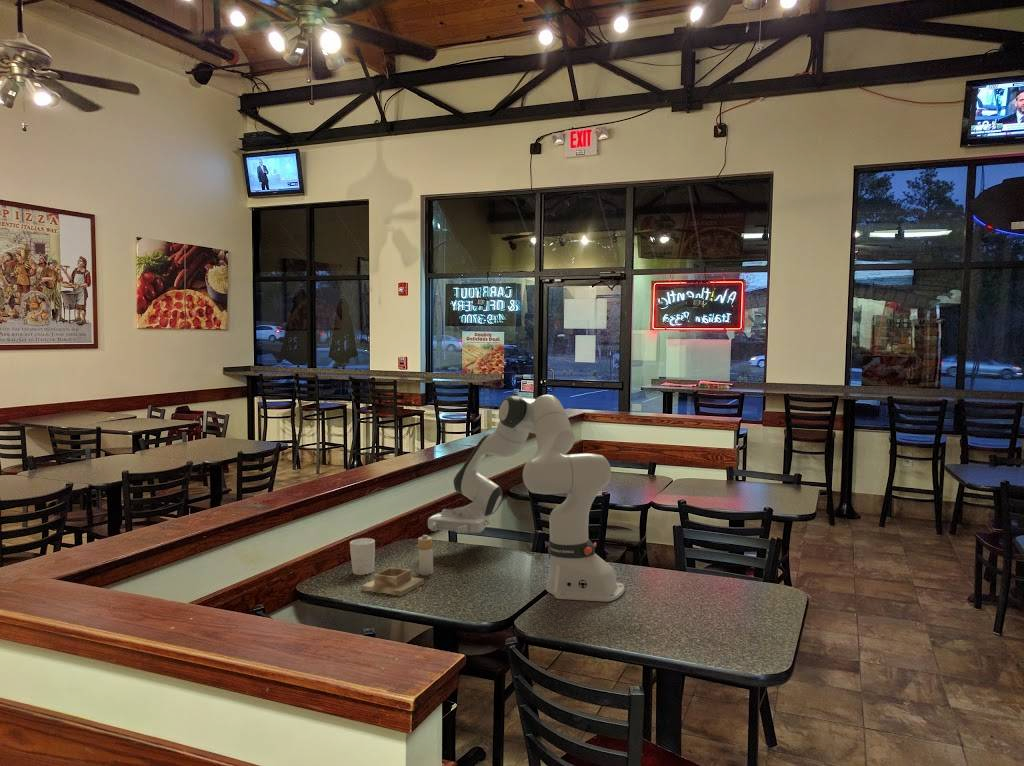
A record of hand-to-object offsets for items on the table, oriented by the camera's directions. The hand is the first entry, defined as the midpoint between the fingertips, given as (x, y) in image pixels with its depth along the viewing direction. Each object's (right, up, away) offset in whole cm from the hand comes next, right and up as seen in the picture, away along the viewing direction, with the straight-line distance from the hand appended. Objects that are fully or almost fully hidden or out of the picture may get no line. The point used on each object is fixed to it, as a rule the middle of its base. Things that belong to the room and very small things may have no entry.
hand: (444, 529), depth 236 cm
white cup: (-25, -12, -7) cm, 29 cm away
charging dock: (-13, -12, -23) cm, 29 cm away
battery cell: (-5, -12, -11) cm, 17 cm away
